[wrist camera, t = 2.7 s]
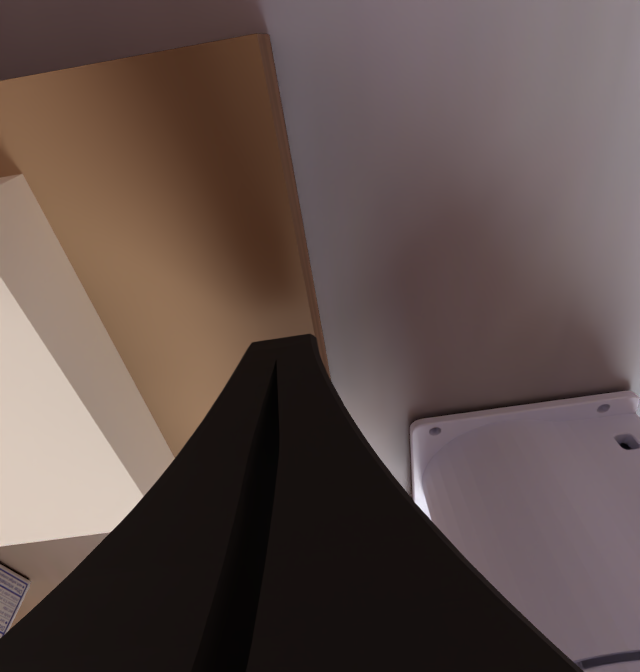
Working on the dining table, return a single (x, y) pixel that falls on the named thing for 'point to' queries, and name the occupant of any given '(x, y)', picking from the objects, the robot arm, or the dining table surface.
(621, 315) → the dining table surface
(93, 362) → the thick cream tile
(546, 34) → the dining table surface
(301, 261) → the wooden block
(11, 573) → the medicine box
